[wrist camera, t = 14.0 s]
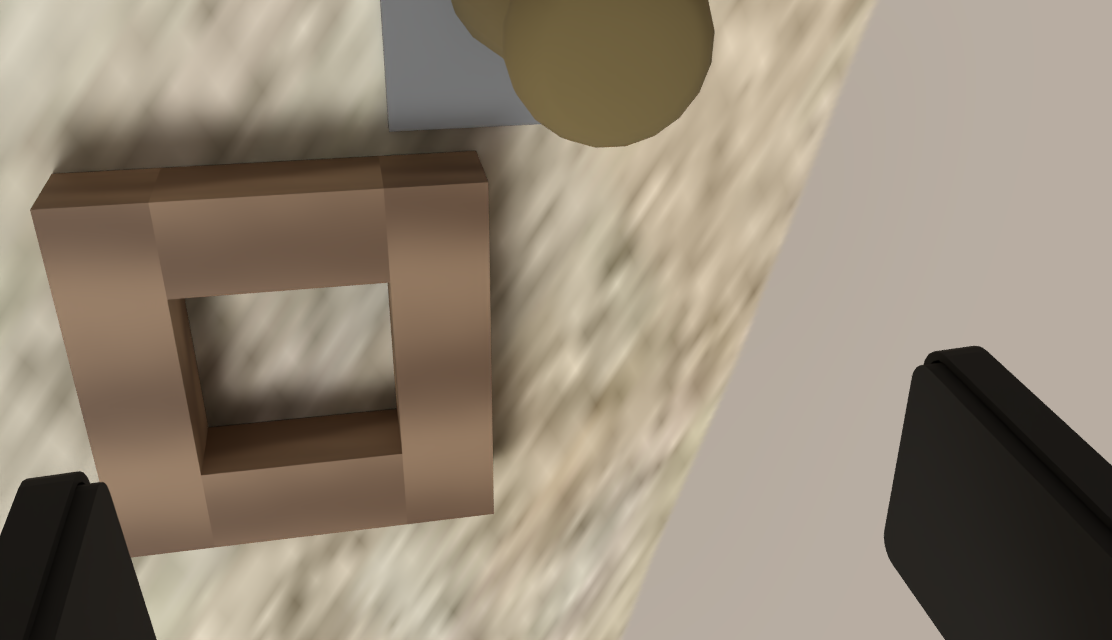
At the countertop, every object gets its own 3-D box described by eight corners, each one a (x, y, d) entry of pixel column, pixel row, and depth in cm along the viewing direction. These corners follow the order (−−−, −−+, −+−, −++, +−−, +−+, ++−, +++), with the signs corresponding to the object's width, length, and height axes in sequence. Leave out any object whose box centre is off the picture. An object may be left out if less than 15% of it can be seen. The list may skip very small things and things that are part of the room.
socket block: (51, 173, 33) (30, 210, 31) (476, 150, 36) (488, 182, 34) (131, 506, 40) (119, 558, 38) (483, 467, 43) (493, 513, 40)
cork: (535, 98, 35) (616, 228, 26) (404, -30, 32) (442, 65, 23) (663, -33, 34) (798, 55, 24) (540, -178, 31) (638, -142, 22)
